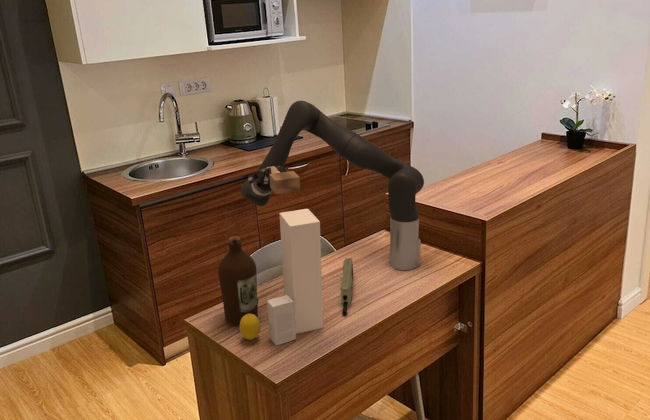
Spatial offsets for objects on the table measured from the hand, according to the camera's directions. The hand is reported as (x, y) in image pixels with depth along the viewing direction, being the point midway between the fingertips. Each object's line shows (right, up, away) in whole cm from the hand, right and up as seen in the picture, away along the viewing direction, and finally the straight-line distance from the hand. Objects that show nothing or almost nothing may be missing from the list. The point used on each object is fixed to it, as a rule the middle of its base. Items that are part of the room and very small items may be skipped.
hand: (274, 169), depth 170 cm
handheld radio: (+21, -38, +8) cm, 44 cm away
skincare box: (+3, -47, -14) cm, 49 cm away
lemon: (-5, -47, -13) cm, 49 cm away
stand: (+9, -43, -6) cm, 45 cm away
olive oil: (-9, -43, -3) cm, 44 cm away
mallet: (+1, -4, -3) cm, 5 cm away
